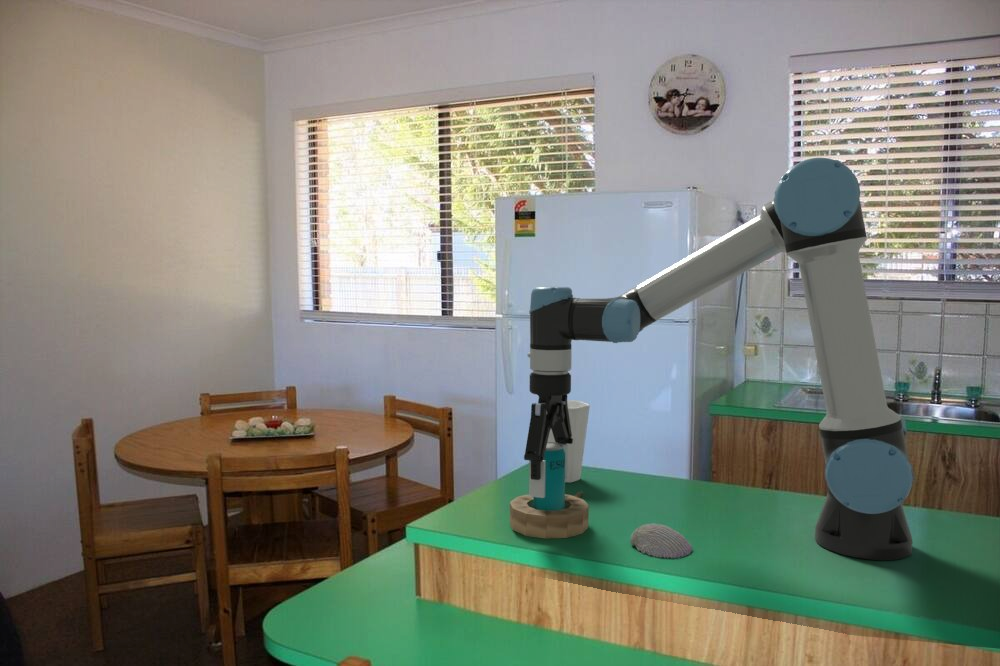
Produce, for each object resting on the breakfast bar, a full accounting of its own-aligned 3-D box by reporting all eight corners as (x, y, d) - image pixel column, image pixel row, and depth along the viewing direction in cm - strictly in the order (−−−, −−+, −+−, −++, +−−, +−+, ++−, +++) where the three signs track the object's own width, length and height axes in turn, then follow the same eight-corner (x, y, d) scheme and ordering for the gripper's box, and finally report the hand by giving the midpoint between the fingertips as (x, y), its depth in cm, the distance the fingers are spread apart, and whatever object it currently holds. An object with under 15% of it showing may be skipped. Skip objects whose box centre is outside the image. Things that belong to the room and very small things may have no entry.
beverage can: (570, 526, 141) (571, 446, 140) (546, 532, 138) (546, 450, 137) (551, 518, 146) (552, 440, 145) (526, 523, 143) (527, 444, 141)
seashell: (627, 519, 137) (684, 510, 135) (633, 549, 137) (690, 540, 135) (627, 537, 127) (689, 528, 125) (634, 570, 127) (695, 560, 125)
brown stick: (582, 494, 161) (582, 492, 161) (562, 514, 148) (562, 511, 148) (578, 494, 162) (578, 491, 162) (558, 513, 149) (558, 510, 149)
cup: (590, 474, 178) (591, 401, 177) (586, 486, 168) (587, 408, 167) (542, 471, 180) (542, 399, 179) (536, 483, 170) (536, 406, 169)
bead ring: (595, 518, 146) (595, 498, 145) (574, 542, 133) (574, 519, 133) (526, 509, 151) (526, 489, 151) (499, 532, 138) (499, 510, 138)
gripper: (551, 363, 153) (550, 468, 154) (506, 379, 130) (505, 503, 131) (588, 365, 150) (587, 472, 151) (548, 381, 127) (547, 508, 128)
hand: (549, 487), depth 141 cm, fingers open, 13 cm apart
